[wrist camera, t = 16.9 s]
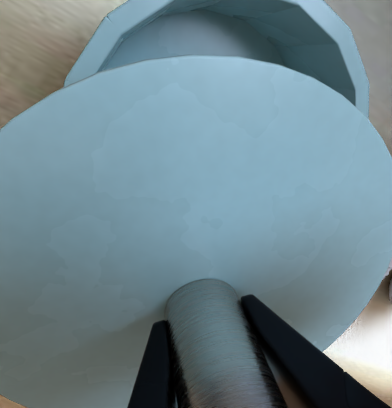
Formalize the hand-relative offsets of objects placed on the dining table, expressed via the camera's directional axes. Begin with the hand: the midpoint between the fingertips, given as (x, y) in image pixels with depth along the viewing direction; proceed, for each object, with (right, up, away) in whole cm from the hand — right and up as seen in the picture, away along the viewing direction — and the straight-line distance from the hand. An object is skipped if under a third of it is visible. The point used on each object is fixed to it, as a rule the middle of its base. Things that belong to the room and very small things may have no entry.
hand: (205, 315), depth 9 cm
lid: (0, 0, +1) cm, 1 cm away
